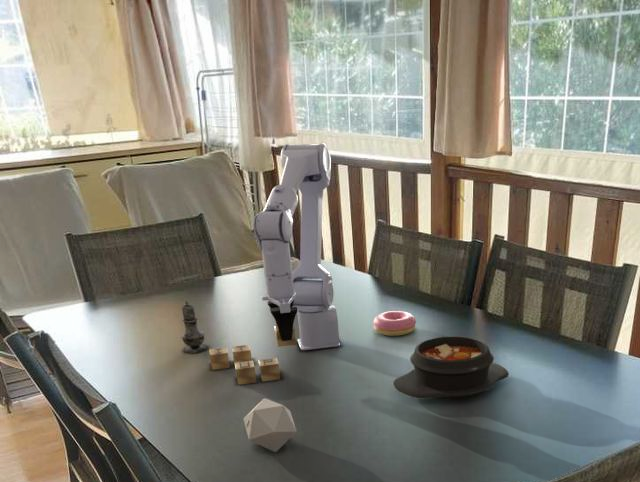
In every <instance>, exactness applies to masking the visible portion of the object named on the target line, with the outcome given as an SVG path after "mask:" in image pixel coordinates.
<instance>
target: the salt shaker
mask: <svg viewBox="0 0 640 482" xmlns="http://www.w3.org/2000/svg"><path fill="white" fill-rule="evenodd" d="M195 311H196V310H195V306H193V304H190V303H189V301H187V300H185V302H184V304H183V305H182V307H181V312H182V317H183V318H182V322H183V324H184V333H182V334H181V335H180V338H181V339H182V342H183V343H184V344H185V345H186V347H185V348H184V351H185V353H189V354H195V353H201V352H204V351H206V350H207V346H206V345H205V344H203V343H204V341H205V336H206V333H205V332H204V331H202V330H201V331H200V329H199V326H198V325H199V324H198V320H199V319H198V317H197V316H196V312H195Z"/></svg>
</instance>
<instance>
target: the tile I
mask: <svg viewBox="0 0 640 482" xmlns="http://www.w3.org/2000/svg"><path fill="white" fill-rule="evenodd" d="M208 350H209V351H208V353H209V358H210V363H211V370H212V371H214V370H225V369H230V368H231V366H230V365H231V364H230V359H229V354H228V348H227V347H225V346H224V347H218V348H216V347H215V348H209V349H208Z"/></svg>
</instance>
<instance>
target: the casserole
mask: <svg viewBox="0 0 640 482" xmlns="http://www.w3.org/2000/svg"><path fill="white" fill-rule="evenodd" d="M409 360H410V363H411V364H412V366H413V369H412V370H410V371H408V373H405V374H404V375H401V376H399V377H397V378H395V379H394V380H393V384H392V385H393V387H394V388H395V389H396V390H397V391H398V392H399V393H401V394H403V395H406V396H409V397H411V398H414V399H415V398H416V399H433V398H440V397H441V398H442V397H446V398H447V397H449V398H450V397H452V398H453V397H464V396H472V395H475V394H479V393H482V392H485V391H487V390H489V389H491V387H493V386H494V385H496V384H497V383H498V382H500V381H503V380H504V379H506V378H508V377H509V375H510V373H509V371H508V370H507V369H506V368H505V367H504V366H503V365H500V364H499V363H497V362H494V360H495V358H494V355H493V354H492V353H491V349H490V347H489V345H487V343H485V342H484V341H482V340H479V339H478V338H477V339H476V338H474V337H473V338H472V337H468V336H467V337H466V336H454V335H453V336H452V335H451V336H439V337H433V338H429V339H426V340H423V341H421V342H419V343H418V344H417V345H416V346H415V348H414V351H413V353H412V354H411V355H410V357H409Z"/></svg>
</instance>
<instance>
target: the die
mask: <svg viewBox="0 0 640 482" xmlns="http://www.w3.org/2000/svg"><path fill="white" fill-rule="evenodd" d="M243 422H244V426H245V430H246V434H247V438H248V441H250V442H252V443H254V444H256V445H258V446H260V447H263V448H265V449H267V450H269V451H271V452H274V453H277V452H278V451H279V450H280V449H281V448H282V447H283V446H284V445H285V444H286V443H287V442H288V441H289V440H290V439H291V438H292V437H293V436H294V435H296V433H297V427H296V426H295V425H296V424H295V422H294V418H293V415H292V412H291V410H290V409H289V408H287V407H286V406H285V405H283V404H281V403H278V402H276V401H273V400H270V399H268V398H265V397H264V398H263V399H261V401H259V402H258V404H257V405H256V406H255V407H254V408H252V410H250V411H249V412H248V413H247V414H246V415H245V416H244V418H243Z"/></svg>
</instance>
